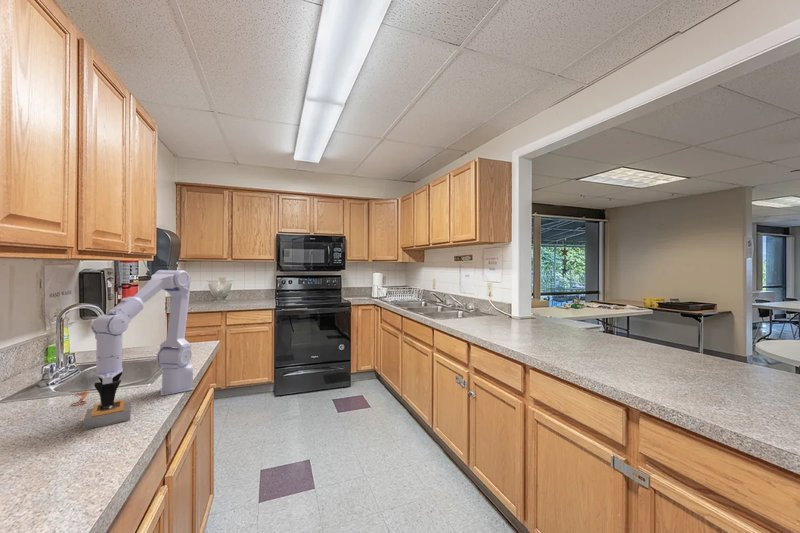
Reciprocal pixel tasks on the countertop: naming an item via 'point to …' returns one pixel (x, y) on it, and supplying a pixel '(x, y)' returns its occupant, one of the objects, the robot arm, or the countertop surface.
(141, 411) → the countertop surface
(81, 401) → the key
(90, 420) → the chuck block
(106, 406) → the peg
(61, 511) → the countertop surface
